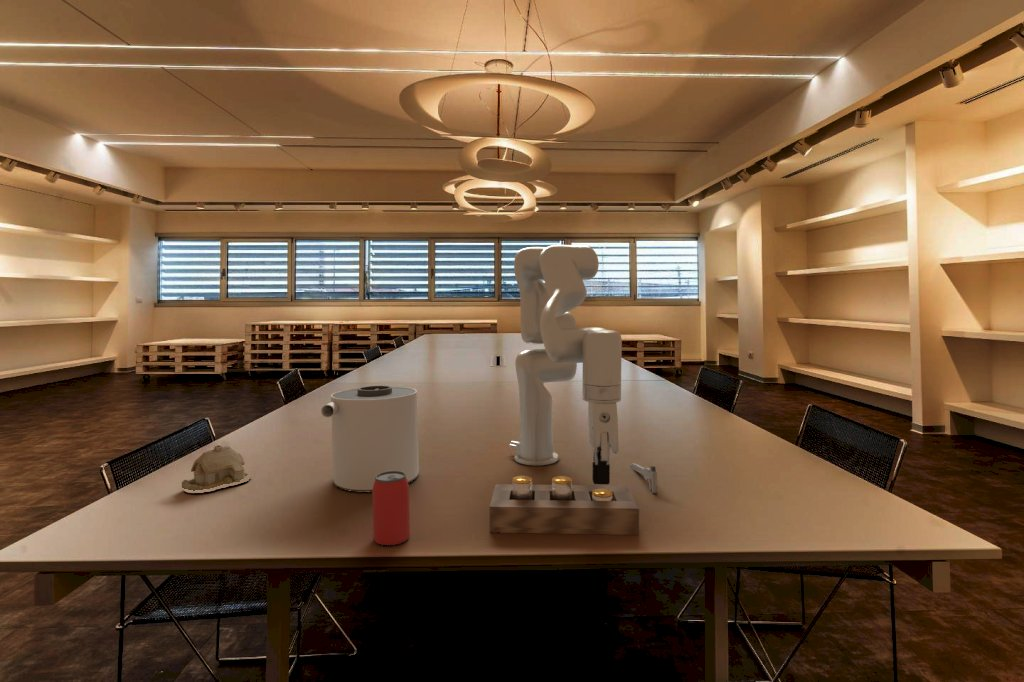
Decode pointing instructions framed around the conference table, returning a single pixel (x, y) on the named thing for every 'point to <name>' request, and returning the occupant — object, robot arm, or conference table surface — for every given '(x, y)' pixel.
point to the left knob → (522, 488)
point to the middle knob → (562, 488)
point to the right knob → (601, 495)
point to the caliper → (647, 475)
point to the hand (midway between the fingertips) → (600, 482)
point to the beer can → (391, 508)
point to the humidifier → (373, 434)
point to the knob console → (564, 511)
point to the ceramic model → (216, 469)
